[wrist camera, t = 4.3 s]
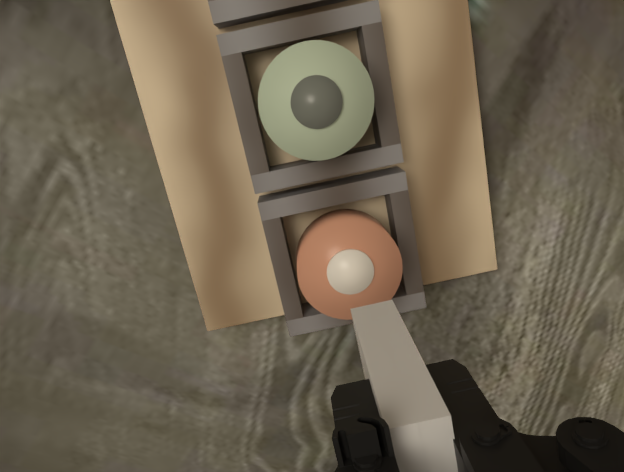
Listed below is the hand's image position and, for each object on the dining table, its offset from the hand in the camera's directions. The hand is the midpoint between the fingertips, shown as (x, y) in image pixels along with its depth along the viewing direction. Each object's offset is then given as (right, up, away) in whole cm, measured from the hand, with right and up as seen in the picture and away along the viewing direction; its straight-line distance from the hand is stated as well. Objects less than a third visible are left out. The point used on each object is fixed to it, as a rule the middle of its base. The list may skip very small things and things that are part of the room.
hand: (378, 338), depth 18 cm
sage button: (-2, +11, +8) cm, 14 cm away
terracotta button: (-1, +3, +11) cm, 11 cm away
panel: (-2, +12, +12) cm, 17 cm away
